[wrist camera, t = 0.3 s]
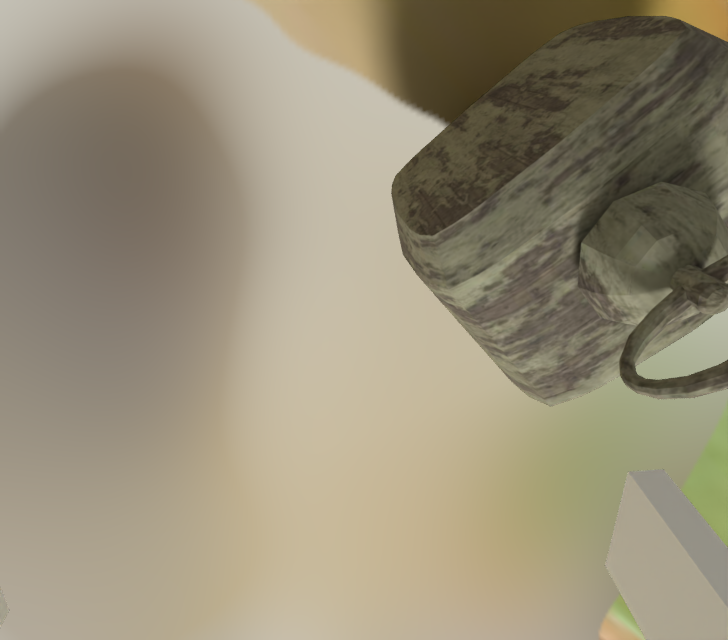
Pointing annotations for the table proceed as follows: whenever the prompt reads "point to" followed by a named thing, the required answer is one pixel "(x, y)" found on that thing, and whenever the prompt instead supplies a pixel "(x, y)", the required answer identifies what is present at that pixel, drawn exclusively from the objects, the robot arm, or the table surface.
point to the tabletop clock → (582, 208)
